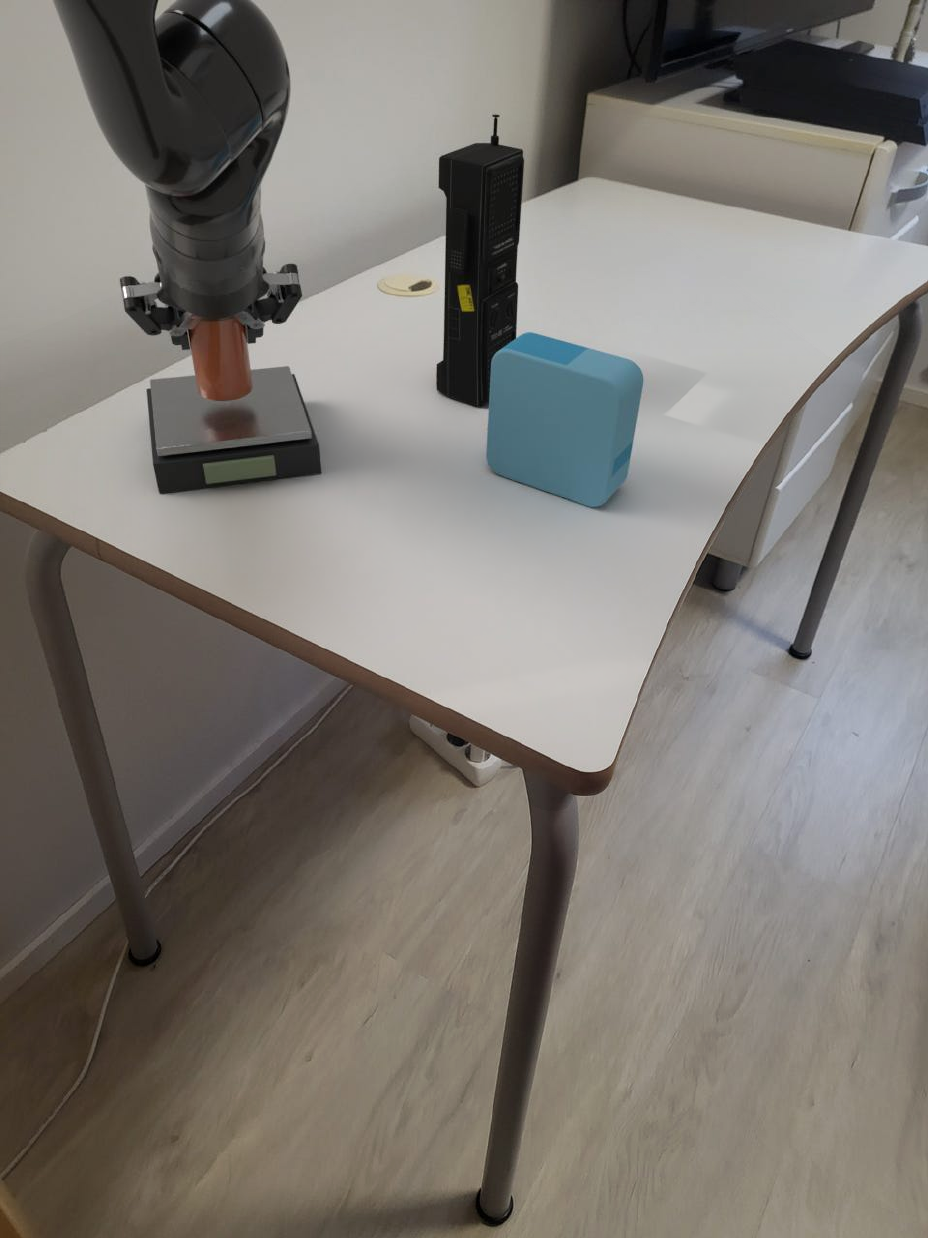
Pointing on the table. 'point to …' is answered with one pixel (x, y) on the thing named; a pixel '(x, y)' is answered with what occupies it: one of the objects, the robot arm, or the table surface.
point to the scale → (234, 461)
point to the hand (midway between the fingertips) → (217, 335)
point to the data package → (562, 417)
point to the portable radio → (479, 263)
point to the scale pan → (227, 414)
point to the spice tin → (221, 359)
